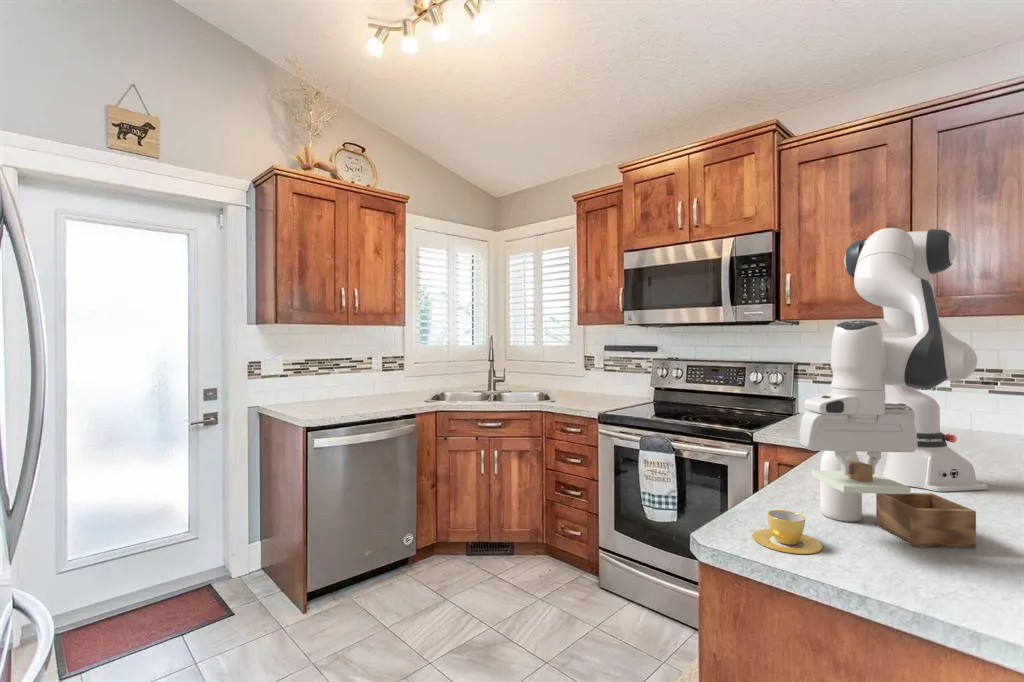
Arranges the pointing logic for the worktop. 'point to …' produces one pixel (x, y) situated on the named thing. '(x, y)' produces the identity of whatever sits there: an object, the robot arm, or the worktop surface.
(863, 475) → the lid
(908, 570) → the worktop surface
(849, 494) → the milk bottle
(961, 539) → the box
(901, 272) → the robot arm
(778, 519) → the cup
